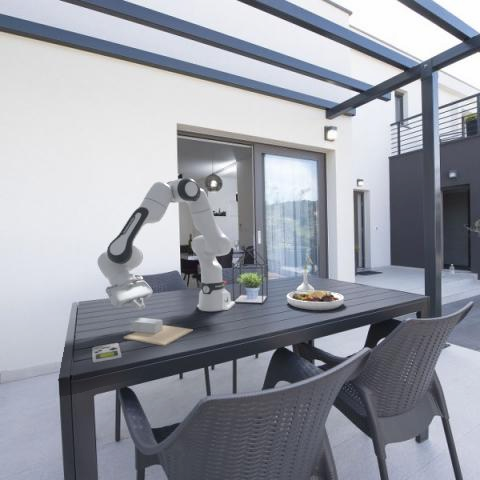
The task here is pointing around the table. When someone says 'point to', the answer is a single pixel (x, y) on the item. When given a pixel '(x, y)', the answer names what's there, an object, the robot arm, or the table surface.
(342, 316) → the table surface
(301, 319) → the table surface
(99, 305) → the table surface
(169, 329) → the mat
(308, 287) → the flower in vase
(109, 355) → the handheld gaming device
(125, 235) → the robot arm
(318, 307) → the bowl
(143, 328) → the skincare box
